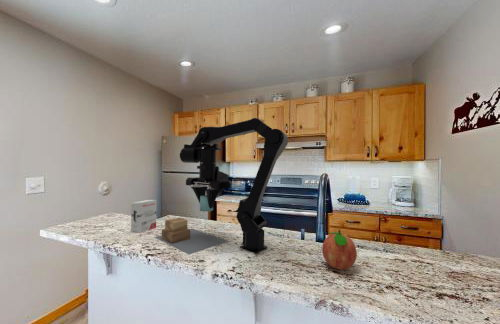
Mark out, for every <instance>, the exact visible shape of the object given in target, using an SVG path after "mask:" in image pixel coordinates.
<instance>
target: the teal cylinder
mask: <svg viewBox="0 0 500 324" xmlns="http://www.w3.org/2000/svg"><path fill="white" fill-rule="evenodd" d="M199 211H201V212H212V211H214V207H213V208H209V204H208V199H207V194H205V195H202V196H200V203H199Z"/></svg>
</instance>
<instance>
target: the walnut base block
mask: <svg viewBox="0 0 500 324" xmlns="http://www.w3.org/2000/svg"><path fill="white" fill-rule="evenodd" d="M190 229H191V228H188V227H187V230H183V231H178V232H174V233H172V232H170V231H168V230H165V228H161V235H162V239H163V240H165V241H167V242H169V243H171V244H173V243H176V242H180V241H184V240H187V239H190Z"/></svg>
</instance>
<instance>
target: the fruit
mask: <svg viewBox="0 0 500 324" xmlns="http://www.w3.org/2000/svg"><path fill="white" fill-rule="evenodd" d="M337 231H338V232H337ZM337 231H335V232H334V231H333V232H331V231H330V232H329V235H328V236H327V237H326V238H324V241H323V243H322V248H321V249H322V250H321V251H322V256H323V259H324V260H325V261H326V263H327V265H329V267H332V268H333V269H336V270H340V271H341V270H343V271H345V270H348V269H350V268H352V267H353V266H354V265H355V263H356V259H357V256H358V253H357V248H356V244H355V243H354V240H352V239H351V238H350V236H347V235H346V234H343V233H342V232H341V229H338V230H337Z"/></svg>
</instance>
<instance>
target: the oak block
mask: <svg viewBox="0 0 500 324" xmlns="http://www.w3.org/2000/svg"><path fill="white" fill-rule="evenodd" d="M187 228H188V219H187V218H186V219H185V218H182V217H174V218H169V219H165V220H164V229H165V230H168V231H170V232H172V233H174V232H178V231H183V230H187Z"/></svg>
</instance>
